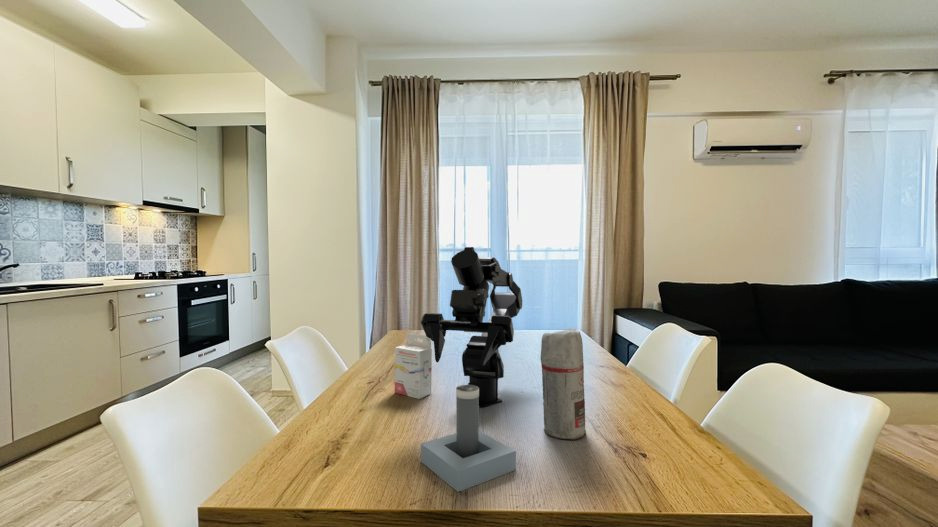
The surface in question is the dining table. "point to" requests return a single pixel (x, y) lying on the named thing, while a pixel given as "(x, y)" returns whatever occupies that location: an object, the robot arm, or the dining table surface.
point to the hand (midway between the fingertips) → (459, 362)
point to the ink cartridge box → (413, 367)
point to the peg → (467, 420)
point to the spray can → (563, 384)
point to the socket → (467, 461)
